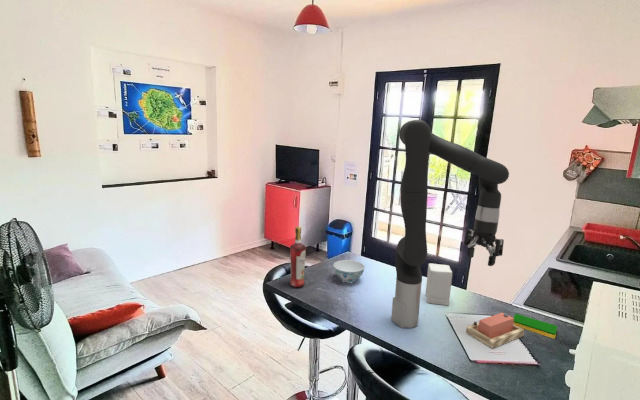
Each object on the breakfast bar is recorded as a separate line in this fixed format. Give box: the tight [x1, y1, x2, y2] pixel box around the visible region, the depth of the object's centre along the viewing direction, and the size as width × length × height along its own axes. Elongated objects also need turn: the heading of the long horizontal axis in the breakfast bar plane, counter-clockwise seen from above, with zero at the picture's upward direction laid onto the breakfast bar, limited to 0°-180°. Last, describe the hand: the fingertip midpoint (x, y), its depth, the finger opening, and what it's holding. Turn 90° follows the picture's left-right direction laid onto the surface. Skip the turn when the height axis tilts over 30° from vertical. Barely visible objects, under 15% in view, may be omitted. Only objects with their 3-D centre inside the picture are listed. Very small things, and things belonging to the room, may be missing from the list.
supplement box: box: [425, 263, 453, 306], centre depth 147 cm, size 9×9×15 cm
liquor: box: [289, 226, 307, 288], centre depth 156 cm, size 7×7×28 cm
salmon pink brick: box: [478, 312, 514, 339], centre depth 123 cm, size 13×4×6 cm, turn 118°
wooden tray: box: [465, 321, 525, 349], centre depth 123 cm, size 18×10×4 cm, turn 118°
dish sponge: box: [513, 313, 558, 339], centre depth 128 cm, size 7×14×2 cm, turn 51°
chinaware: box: [333, 259, 365, 284], centre depth 165 cm, size 15×15×8 cm
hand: (480, 261), depth 125 cm, fingers open, 8 cm apart
